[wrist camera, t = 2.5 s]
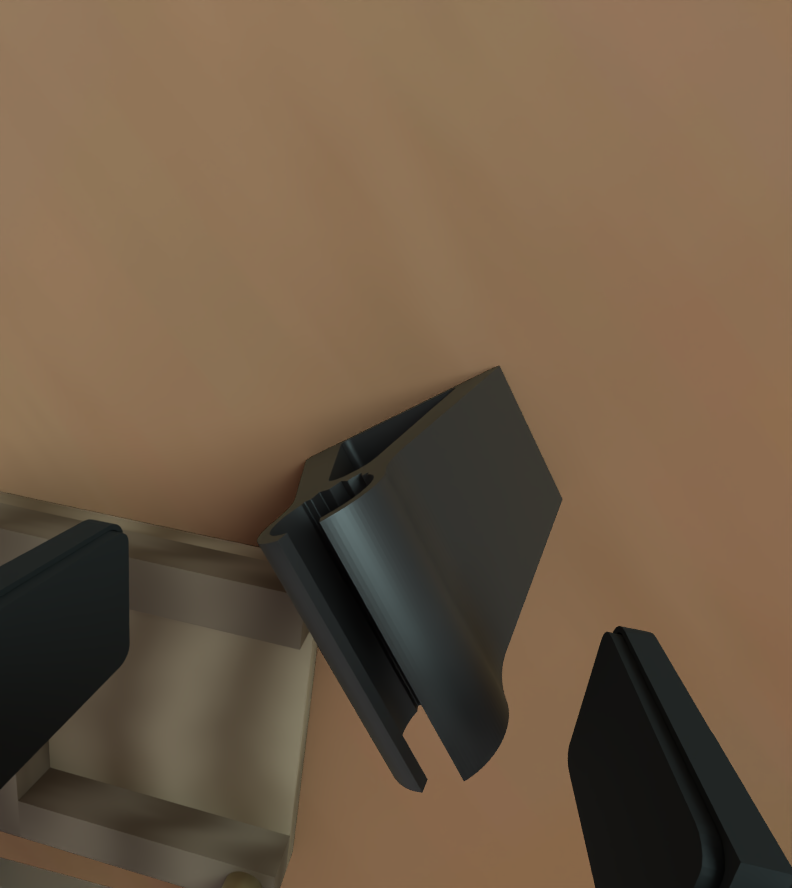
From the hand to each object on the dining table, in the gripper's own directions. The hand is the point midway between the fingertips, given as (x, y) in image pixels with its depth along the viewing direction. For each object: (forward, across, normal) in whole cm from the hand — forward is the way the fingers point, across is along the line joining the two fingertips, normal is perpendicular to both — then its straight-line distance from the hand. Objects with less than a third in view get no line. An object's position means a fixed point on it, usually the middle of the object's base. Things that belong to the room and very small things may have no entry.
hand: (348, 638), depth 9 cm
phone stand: (+12, -1, 0) cm, 12 cm away
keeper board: (+12, +12, +14) cm, 22 cm away
